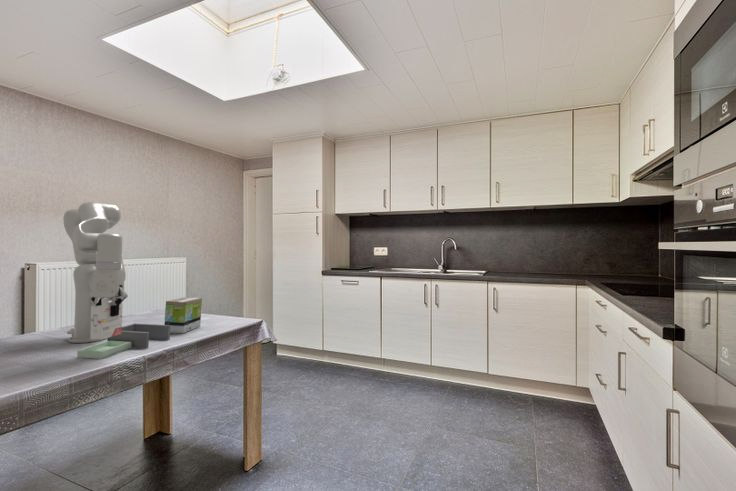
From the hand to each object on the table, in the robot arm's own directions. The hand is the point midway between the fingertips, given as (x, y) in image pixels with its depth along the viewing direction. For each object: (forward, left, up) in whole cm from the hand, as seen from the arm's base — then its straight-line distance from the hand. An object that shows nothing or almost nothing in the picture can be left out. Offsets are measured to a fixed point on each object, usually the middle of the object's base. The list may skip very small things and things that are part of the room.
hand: (107, 315), depth 127 cm
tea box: (+5, +39, -14) cm, 41 cm away
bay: (+2, +15, -14) cm, 20 cm away
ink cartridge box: (0, 0, -8) cm, 8 cm away
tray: (0, 0, -14) cm, 14 cm away
